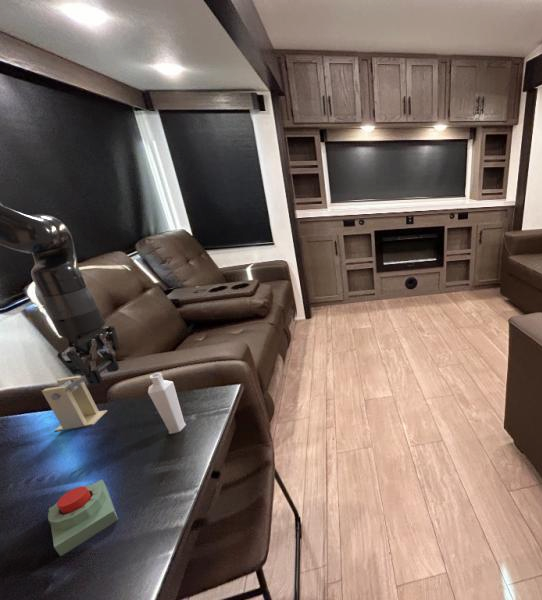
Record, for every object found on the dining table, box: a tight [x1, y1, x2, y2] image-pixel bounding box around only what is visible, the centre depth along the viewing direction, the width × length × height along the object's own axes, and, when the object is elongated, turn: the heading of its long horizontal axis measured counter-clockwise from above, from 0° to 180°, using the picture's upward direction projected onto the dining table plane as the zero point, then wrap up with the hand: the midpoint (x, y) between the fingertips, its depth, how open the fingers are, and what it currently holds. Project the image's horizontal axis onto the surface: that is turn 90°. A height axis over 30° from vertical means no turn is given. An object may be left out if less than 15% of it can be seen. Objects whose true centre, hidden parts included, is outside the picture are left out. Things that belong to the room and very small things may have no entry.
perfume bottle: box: [147, 372, 187, 435], centre depth 69 cm, size 5×4×15 cm
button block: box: [47, 479, 119, 557], centre depth 53 cm, size 10×7×4 cm
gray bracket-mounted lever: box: [58, 360, 112, 393], centre depth 73 cm, size 12×5×2 cm, turn 100°
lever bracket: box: [41, 374, 108, 432], centre depth 75 cm, size 8×6×12 cm
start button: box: [56, 485, 91, 514], centre depth 52 cm, size 4×4×2 cm
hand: (105, 377), depth 74 cm, fingers closed on gray bracket-mounted lever, 5 cm apart
